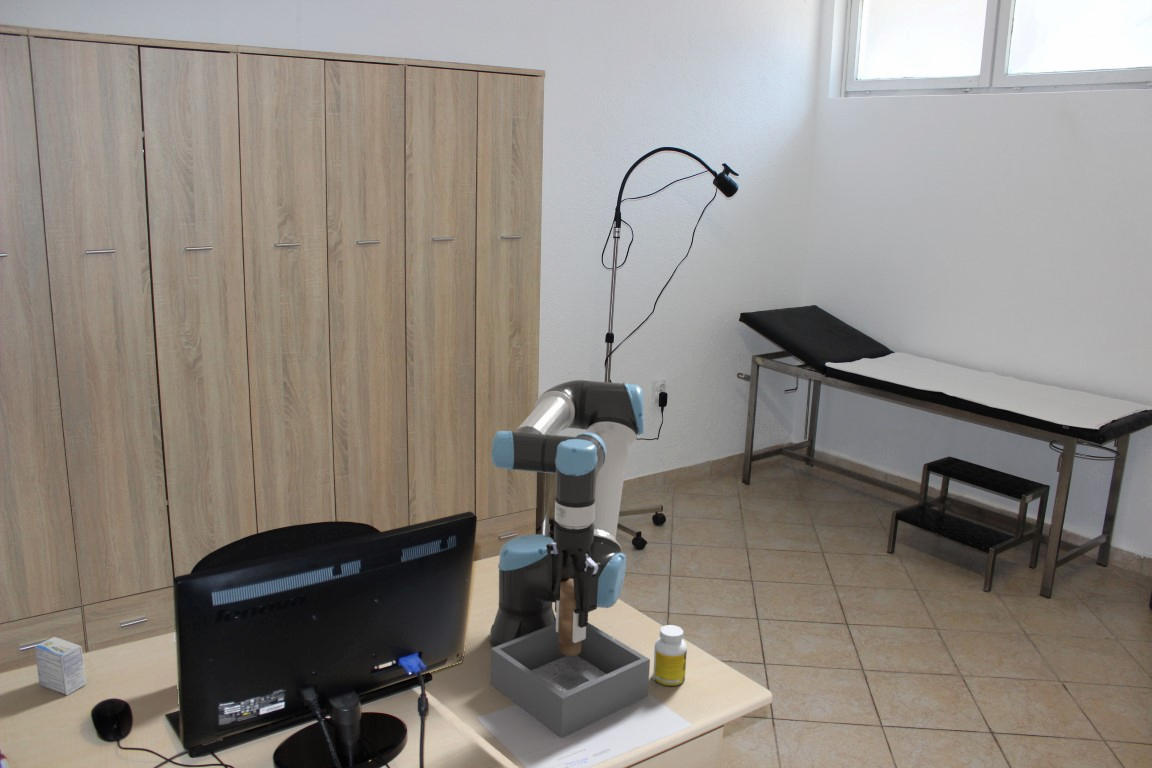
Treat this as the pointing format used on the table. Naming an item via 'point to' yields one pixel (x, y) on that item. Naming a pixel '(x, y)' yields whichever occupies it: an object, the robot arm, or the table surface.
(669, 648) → the pill bottle
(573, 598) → the walnut peg
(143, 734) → the table surface
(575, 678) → the bore plate
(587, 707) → the open box
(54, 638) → the medicine box
